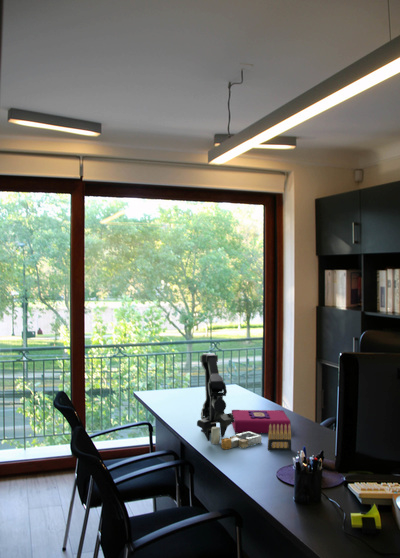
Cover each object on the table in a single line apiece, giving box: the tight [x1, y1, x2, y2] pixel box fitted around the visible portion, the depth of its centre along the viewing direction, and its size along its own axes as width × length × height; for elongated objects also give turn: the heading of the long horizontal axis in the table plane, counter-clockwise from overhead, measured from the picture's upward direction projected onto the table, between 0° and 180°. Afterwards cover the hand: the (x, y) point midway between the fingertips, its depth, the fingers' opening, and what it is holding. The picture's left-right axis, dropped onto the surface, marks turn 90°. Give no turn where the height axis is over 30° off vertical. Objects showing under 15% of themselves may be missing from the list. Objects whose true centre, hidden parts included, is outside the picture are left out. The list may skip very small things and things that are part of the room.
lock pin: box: [220, 437, 241, 450], centre depth 247 cm, size 3×10×4 cm, turn 129°
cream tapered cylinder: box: [210, 426, 221, 445], centre depth 253 cm, size 4×4×7 cm
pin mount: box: [229, 435, 248, 449], centre depth 250 cm, size 9×3×3 cm, turn 39°
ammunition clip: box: [267, 424, 292, 452], centre depth 244 cm, size 11×2×12 cm, turn 93°
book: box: [231, 409, 292, 435], centre depth 278 cm, size 21×28×8 cm
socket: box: [235, 431, 262, 447], centre depth 254 cm, size 9×9×4 cm
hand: (215, 439), depth 253 cm, fingers open, 8 cm apart
